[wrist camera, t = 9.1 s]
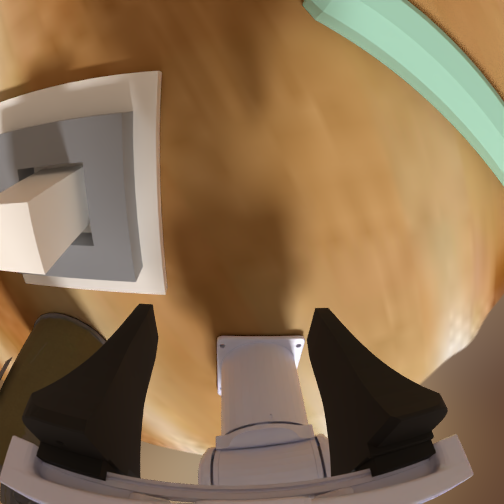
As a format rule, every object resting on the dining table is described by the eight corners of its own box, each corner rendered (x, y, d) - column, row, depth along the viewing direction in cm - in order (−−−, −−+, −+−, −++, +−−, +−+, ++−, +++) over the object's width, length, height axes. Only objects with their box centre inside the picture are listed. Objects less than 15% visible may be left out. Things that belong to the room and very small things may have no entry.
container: (315, -30, 8) (548, 212, 15) (342, -66, 8) (551, 156, 14) (277, 27, 14) (500, 208, 20) (307, -18, 14) (507, 157, 20)
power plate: (167, 287, 23) (160, 311, 20) (30, 277, 22) (15, 296, 19) (161, 72, 15) (149, 67, 13) (1, 103, 14) (-23, 108, 11)
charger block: (93, 220, 19) (45, 274, 12) (49, 220, 18) (-3, 269, 12) (86, 165, 17) (27, 202, 11) (42, 169, 16) (-21, 205, 10)
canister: (136, 365, 28) (104, 546, 10) (83, 385, 30) (47, 524, 12) (60, 293, 23) (-30, 487, 5) (19, 327, 25) (-48, 470, 7)
